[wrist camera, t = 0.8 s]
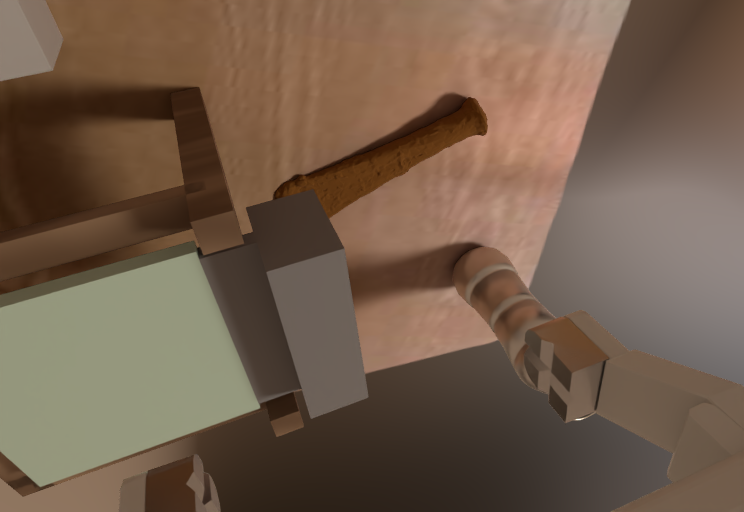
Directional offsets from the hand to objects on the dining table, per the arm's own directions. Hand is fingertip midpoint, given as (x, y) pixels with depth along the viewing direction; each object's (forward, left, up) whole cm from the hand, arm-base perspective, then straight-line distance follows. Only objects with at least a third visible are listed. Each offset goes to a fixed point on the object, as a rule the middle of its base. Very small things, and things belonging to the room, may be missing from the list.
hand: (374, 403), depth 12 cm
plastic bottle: (+28, +21, -31) cm, 47 cm away
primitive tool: (+13, +11, -31) cm, 36 cm away
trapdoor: (+12, -8, -19) cm, 24 cm away
